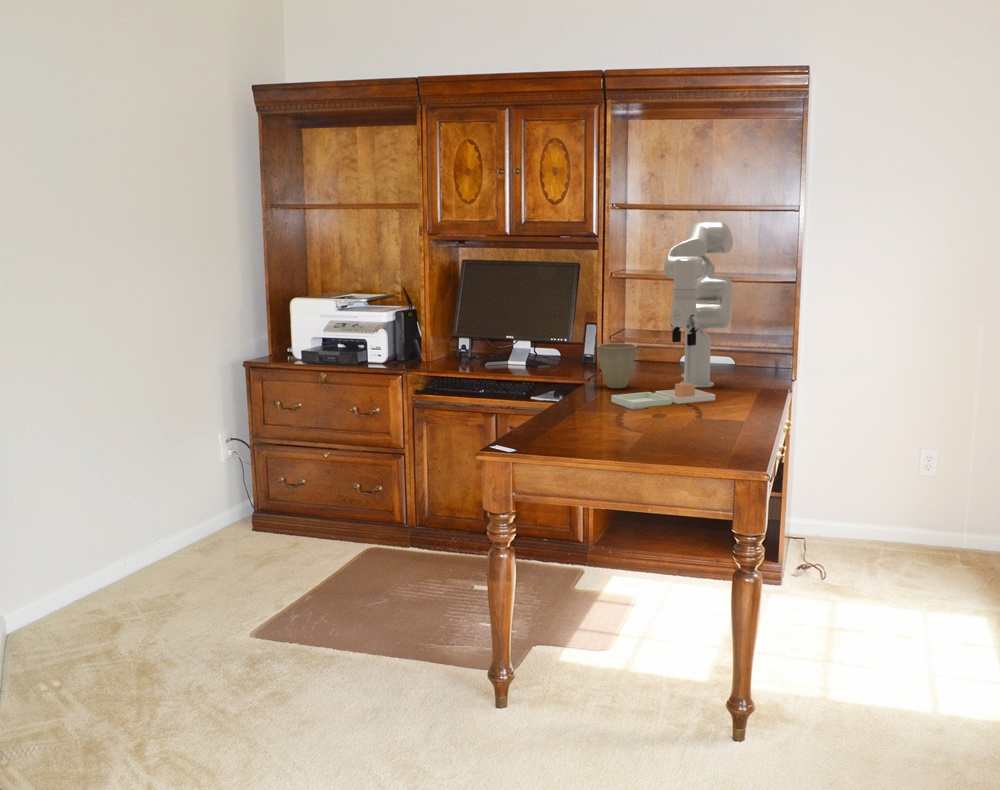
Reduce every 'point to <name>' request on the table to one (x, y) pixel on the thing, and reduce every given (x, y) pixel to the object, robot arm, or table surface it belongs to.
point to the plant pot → (616, 363)
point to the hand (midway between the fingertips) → (683, 343)
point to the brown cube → (684, 390)
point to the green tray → (640, 400)
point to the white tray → (698, 397)
